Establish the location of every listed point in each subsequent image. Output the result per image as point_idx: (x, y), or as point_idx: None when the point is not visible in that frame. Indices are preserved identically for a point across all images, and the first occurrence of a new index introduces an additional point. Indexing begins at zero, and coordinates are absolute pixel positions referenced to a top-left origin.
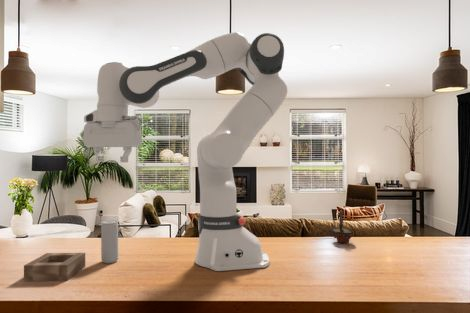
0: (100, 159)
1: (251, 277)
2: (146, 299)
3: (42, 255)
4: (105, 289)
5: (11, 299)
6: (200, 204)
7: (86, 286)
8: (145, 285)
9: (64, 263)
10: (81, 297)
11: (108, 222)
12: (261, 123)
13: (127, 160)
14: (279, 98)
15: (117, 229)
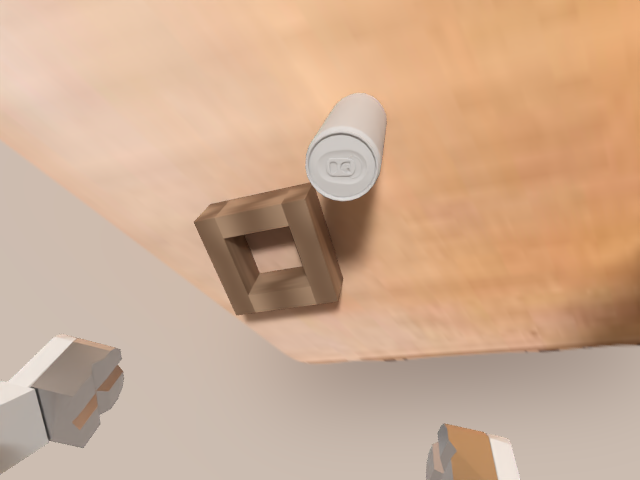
0: (104, 403)
1: None
2: (589, 343)
3: (203, 243)
4: (467, 309)
5: (308, 361)
6: None
7: (412, 300)
8: (563, 280)
9: (320, 292)
10: (436, 345)
11: (340, 175)
12: None
13: (508, 460)
14: None
15: (381, 150)
